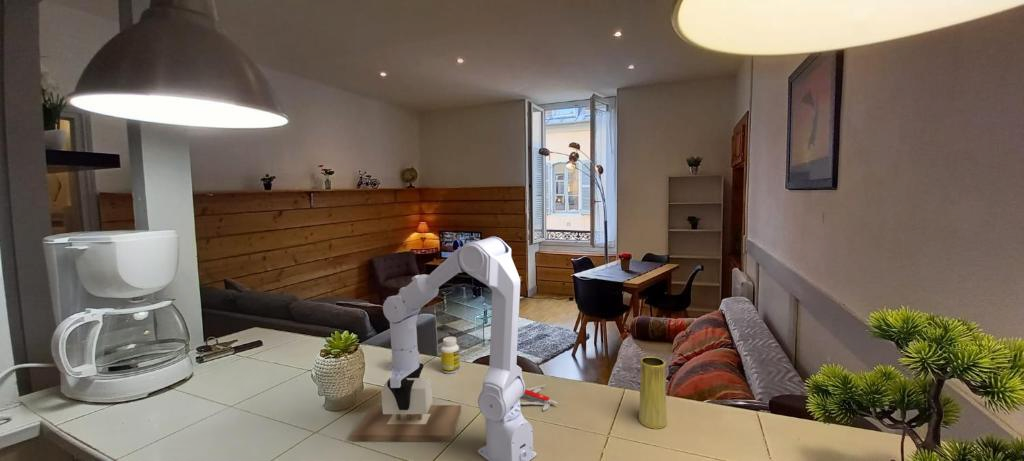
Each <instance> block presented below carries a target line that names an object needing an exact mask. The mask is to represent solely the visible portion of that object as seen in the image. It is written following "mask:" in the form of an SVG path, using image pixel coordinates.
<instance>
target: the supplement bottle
mask: <svg viewBox="0 0 1024 461" xmlns="http://www.w3.org/2000/svg"><path fill="white" fill-rule="evenodd" d="M457 343H458V342H457V337H456V336H446V337H443V339H442V344H443V345H442V346H441V348H440V356H441V359H440V360H441V361H440V362H441V364H440V365H441V371H442V373H444V374H455V373H457V372H458V371H460V365H461V364H460V363H461V362H460V346H459V345H458V344H457Z"/></svg>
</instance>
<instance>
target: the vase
mask: <svg viewBox="0 0 1024 461" xmlns="http://www.w3.org/2000/svg"><path fill="white" fill-rule="evenodd" d="M639 388H640V389H639V411H638V421H639V422H640V423H641V424H642V425H643V426H644V427H646V428H650V429H656V430H657V429H658V430H659V429H660V430H661V429H663V428H665V427H666V426H667V424H668V421H667V420H668V419H667V391H666V361H665V360H664V359H662V358H660V357H658V356H644V357H641V359H640V387H639Z"/></svg>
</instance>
